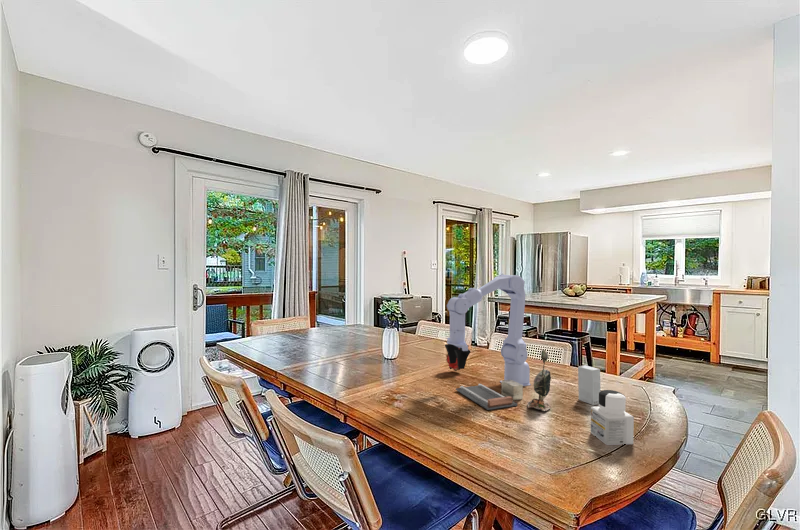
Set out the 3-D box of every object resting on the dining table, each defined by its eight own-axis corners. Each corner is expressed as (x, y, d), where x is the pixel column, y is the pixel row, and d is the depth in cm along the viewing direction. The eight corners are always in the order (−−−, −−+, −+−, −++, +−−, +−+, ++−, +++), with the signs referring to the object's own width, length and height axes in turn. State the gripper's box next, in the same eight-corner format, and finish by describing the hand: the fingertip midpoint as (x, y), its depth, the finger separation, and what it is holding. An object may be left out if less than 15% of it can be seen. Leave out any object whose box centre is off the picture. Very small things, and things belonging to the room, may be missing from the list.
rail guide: (482, 386, 151) (482, 379, 151) (517, 405, 132) (517, 397, 132) (455, 389, 147) (455, 383, 147) (487, 410, 127) (487, 402, 127)
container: (590, 433, 111) (590, 387, 111) (615, 432, 112) (616, 387, 112) (606, 445, 104) (607, 397, 103) (633, 445, 104) (634, 396, 104)
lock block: (509, 392, 145) (510, 379, 145) (522, 399, 138) (522, 385, 138) (500, 393, 144) (501, 380, 144) (513, 400, 137) (513, 386, 137)
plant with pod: (558, 405, 132) (559, 346, 132) (544, 414, 124) (545, 352, 124) (535, 399, 138) (536, 343, 138) (520, 407, 130) (521, 348, 130)
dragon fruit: (461, 375, 166) (461, 347, 166) (442, 372, 170) (443, 345, 170) (468, 370, 173) (468, 343, 173) (450, 367, 177) (450, 341, 177)
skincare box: (601, 403, 134) (601, 369, 134) (592, 405, 132) (593, 370, 132) (585, 398, 140) (586, 364, 140) (577, 400, 138) (577, 366, 138)
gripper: (440, 326, 151) (439, 361, 151) (455, 333, 137) (455, 372, 137) (456, 326, 153) (456, 360, 153) (473, 332, 139) (473, 370, 139)
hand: (457, 365), depth 145 cm, fingers open, 7 cm apart
